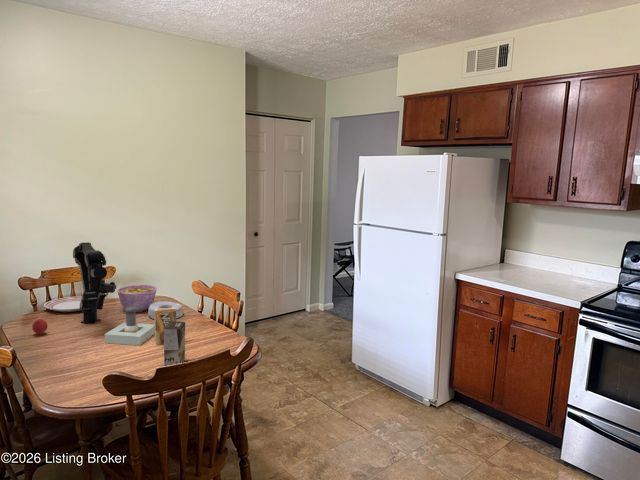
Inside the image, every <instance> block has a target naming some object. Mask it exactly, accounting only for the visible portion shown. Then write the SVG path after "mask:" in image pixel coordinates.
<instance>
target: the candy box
mask: <svg viewBox="0 0 640 480" xmlns="http://www.w3.org/2000/svg"><path fill="white" fill-rule="evenodd" d="M169 322H177V318H176V309H175V307H174V308H162V309H155V319H154V325H155V334H154V342H155V345H161V344H164V328H165V327H166V326H167V325H168V324H169Z"/></svg>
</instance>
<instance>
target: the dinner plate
mask: <svg viewBox="0 0 640 480" xmlns="http://www.w3.org/2000/svg"><path fill="white" fill-rule="evenodd" d="M82 296H83V295H82ZM82 296H79V295H77V296H68V297H62V298H61V297H60V298H56V299H52V300H49V301H47V302H45V303H43V304H44V305H43V306H44V308H45V309H47V310H50V311H55V312H60V313H74V312H81V310H80V302H81V300H82V299H81V298H82Z"/></svg>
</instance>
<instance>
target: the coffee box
mask: <svg viewBox="0 0 640 480" xmlns="http://www.w3.org/2000/svg"><path fill="white" fill-rule="evenodd" d="M184 359H185V360H186V321H176V322H169V324H168V325H167V326H166V327H165V328H164V343H163V367H164V366H167V365H172V364H177V363H181V362H183V363H184V362H185V360H184Z"/></svg>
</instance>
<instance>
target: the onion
mask: <svg viewBox="0 0 640 480" xmlns="http://www.w3.org/2000/svg"><path fill="white" fill-rule="evenodd" d="M31 327H32V328H31V329H32V331H33V332H34V334H37V335H39V336H40V335H43V334H44V333H45V332H46V331H47V330H48V323H47V322H46V321H45V320H43V319H42V317H39V318H37V320H35V321H34V322H33V324H32V326H31Z"/></svg>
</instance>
